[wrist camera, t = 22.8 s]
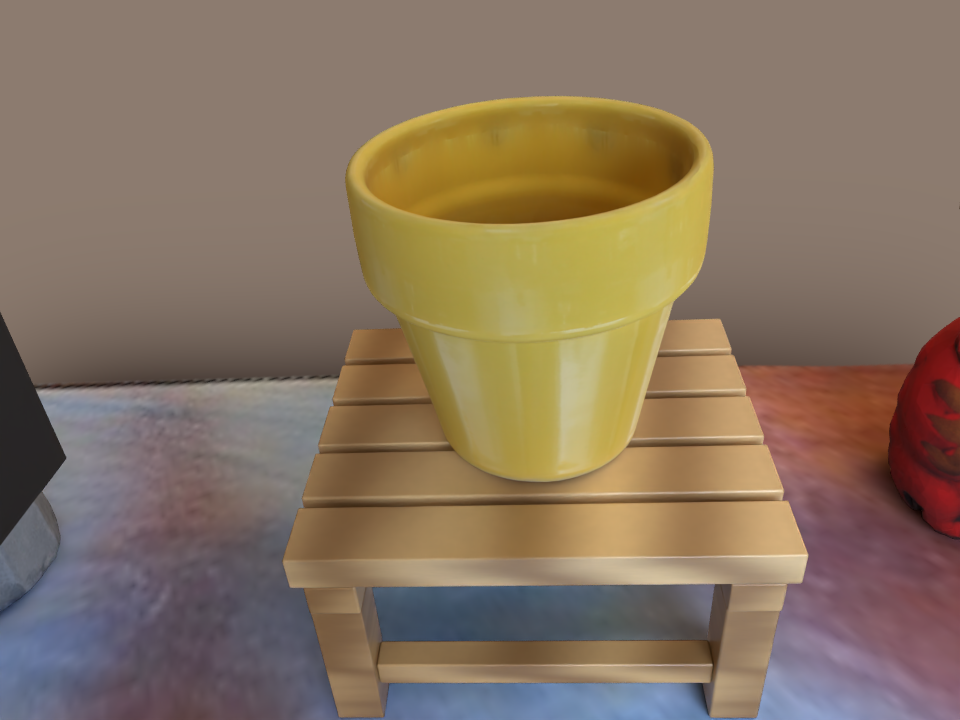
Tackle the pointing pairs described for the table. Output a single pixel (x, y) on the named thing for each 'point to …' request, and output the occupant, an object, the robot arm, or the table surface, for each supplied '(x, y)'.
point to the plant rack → (546, 531)
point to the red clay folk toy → (930, 433)
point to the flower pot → (534, 266)
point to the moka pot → (28, 551)
